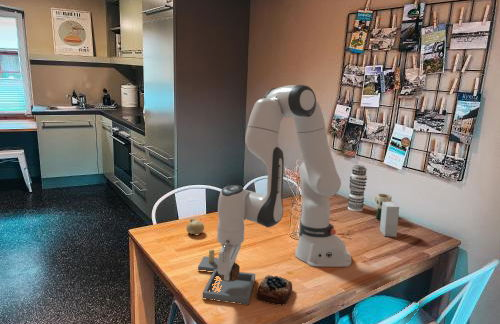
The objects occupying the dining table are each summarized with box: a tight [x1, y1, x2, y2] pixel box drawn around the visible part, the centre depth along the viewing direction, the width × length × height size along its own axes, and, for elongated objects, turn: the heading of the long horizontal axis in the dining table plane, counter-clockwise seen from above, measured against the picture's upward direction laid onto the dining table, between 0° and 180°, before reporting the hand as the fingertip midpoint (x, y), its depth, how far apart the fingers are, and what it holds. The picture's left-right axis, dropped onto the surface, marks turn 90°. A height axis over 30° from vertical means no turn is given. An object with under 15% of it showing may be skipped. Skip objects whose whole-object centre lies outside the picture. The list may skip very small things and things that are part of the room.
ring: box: [219, 262, 241, 282], centre depth 121 cm, size 6×6×4 cm
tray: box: [202, 269, 256, 305], centre depth 122 cm, size 15×15×2 cm
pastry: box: [256, 274, 293, 306], centre depth 120 cm, size 11×12×6 cm
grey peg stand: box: [197, 248, 219, 271], centre depth 135 cm, size 8×8×7 cm
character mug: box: [374, 193, 393, 221], centre depth 190 cm, size 11×7×13 cm, turn 31°
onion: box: [186, 218, 205, 235], centre depth 165 cm, size 8×8×7 cm
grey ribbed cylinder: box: [347, 164, 368, 212], centre depth 203 cm, size 9×9×25 cm
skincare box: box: [379, 201, 400, 238], centre depth 171 cm, size 8×6×15 cm
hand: (229, 273), depth 121 cm, fingers closed on ring, 6 cm apart
